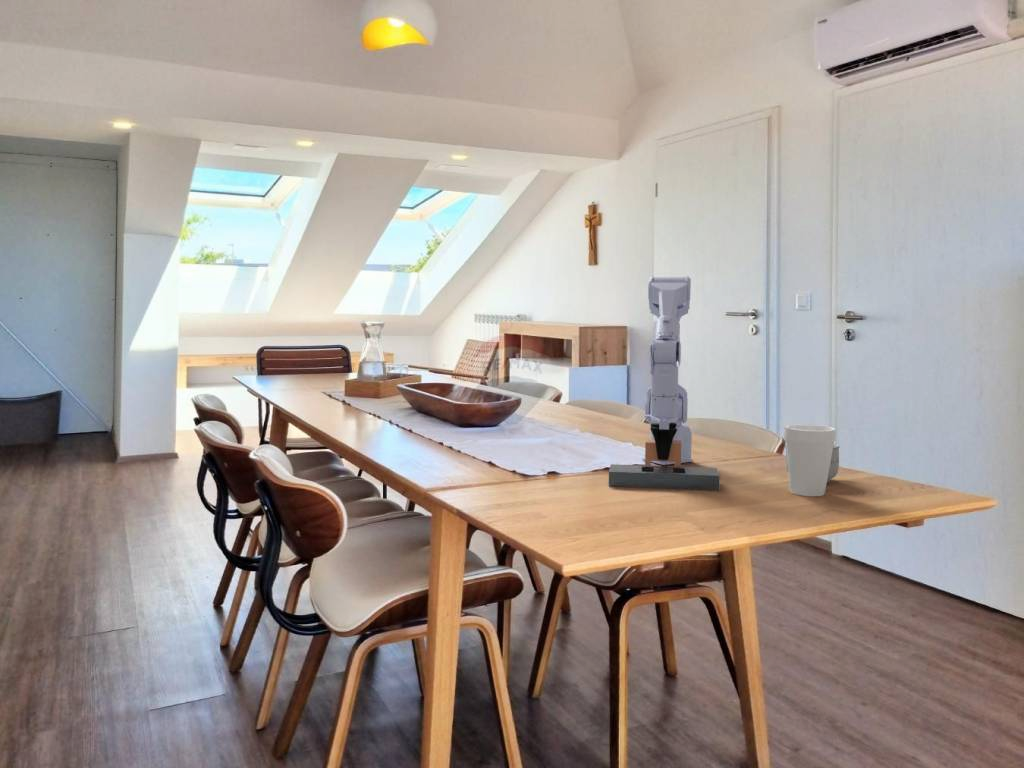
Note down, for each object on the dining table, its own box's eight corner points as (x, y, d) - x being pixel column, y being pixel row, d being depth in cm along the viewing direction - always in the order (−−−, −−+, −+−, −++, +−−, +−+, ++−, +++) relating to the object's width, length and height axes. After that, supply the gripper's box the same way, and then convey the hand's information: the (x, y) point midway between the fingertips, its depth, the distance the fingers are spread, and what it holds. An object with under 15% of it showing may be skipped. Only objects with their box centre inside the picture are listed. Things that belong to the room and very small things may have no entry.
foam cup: (827, 500, 156) (829, 432, 155) (777, 494, 161) (779, 428, 160) (836, 490, 164) (839, 426, 163) (789, 485, 169) (791, 423, 168)
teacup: (812, 488, 166) (814, 449, 165) (772, 478, 176) (774, 441, 175) (859, 482, 172) (861, 444, 172) (819, 473, 182) (820, 437, 181)
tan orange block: (680, 471, 180) (680, 440, 179) (680, 475, 176) (681, 443, 175) (645, 470, 181) (645, 439, 180) (644, 474, 177) (645, 442, 176)
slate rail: (716, 482, 172) (716, 468, 171) (719, 490, 164) (719, 475, 164) (610, 478, 175) (610, 464, 175) (608, 486, 168) (608, 471, 167)
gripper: (645, 391, 185) (644, 451, 186) (645, 398, 170) (643, 463, 172) (677, 392, 183) (676, 452, 185) (679, 399, 169) (678, 464, 170)
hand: (662, 457), depth 178 cm, fingers closed on tan orange block, 4 cm apart
